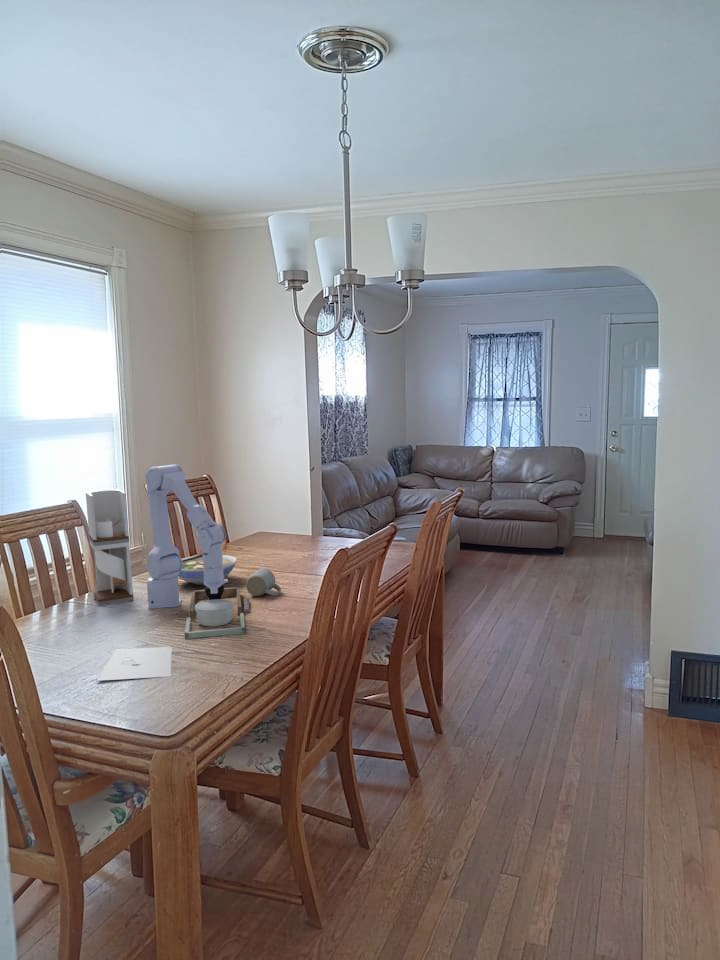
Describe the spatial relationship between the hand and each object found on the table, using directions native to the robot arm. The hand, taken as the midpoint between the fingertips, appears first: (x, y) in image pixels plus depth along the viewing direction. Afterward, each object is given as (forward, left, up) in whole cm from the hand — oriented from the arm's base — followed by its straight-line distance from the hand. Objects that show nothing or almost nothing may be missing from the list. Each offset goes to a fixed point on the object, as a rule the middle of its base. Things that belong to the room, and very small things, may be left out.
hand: (215, 611), depth 215 cm
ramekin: (0, -7, -1) cm, 7 cm away
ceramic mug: (+15, +18, -1) cm, 24 cm away
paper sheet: (-12, -36, -2) cm, 38 cm away
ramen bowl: (-4, +39, -1) cm, 39 cm away
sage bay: (0, -13, -1) cm, 13 cm away
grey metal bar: (+9, +5, -1) cm, 11 cm away
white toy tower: (-33, +27, -1) cm, 43 cm away
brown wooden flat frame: (0, +9, -1) cm, 9 cm away
